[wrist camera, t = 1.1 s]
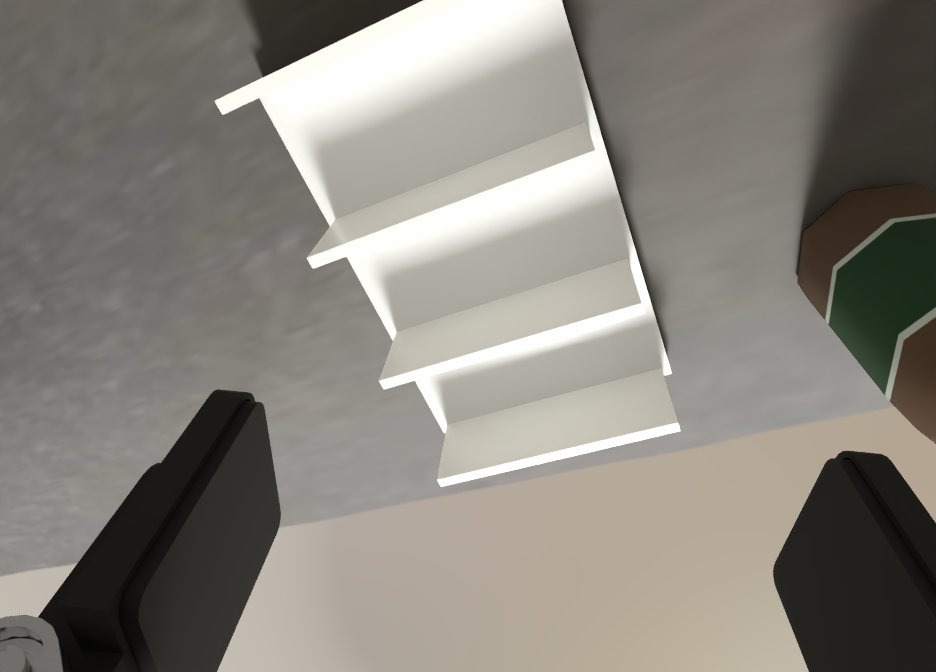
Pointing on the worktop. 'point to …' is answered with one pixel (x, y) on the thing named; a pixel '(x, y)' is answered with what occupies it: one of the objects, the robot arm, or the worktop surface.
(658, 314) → the worktop surface
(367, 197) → the shelf rack
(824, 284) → the beer bottle
